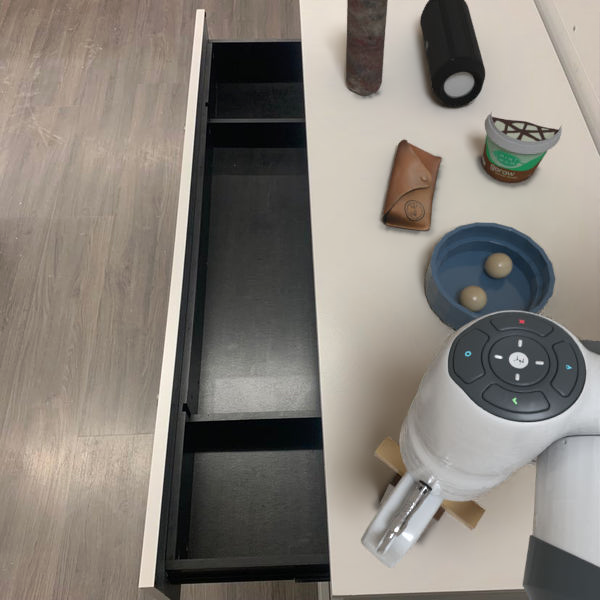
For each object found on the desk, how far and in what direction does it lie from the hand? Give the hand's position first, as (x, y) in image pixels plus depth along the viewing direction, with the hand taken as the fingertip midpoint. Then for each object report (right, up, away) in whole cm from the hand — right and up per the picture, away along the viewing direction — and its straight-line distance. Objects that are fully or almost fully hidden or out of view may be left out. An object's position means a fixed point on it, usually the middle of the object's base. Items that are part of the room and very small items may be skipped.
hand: (426, 478), depth 55 cm
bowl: (+15, +20, +27) cm, 37 cm away
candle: (0, +63, +54) cm, 83 cm away
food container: (+23, +41, +39) cm, 61 cm away
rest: (+1, -7, +11) cm, 13 cm away
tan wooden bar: (0, -1, +1) cm, 1 cm away
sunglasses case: (+7, +38, +38) cm, 54 cm away
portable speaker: (+17, +66, +55) cm, 88 cm away
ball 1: (+12, +18, +25) cm, 33 cm away
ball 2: (+17, +23, +28) cm, 40 cm away
